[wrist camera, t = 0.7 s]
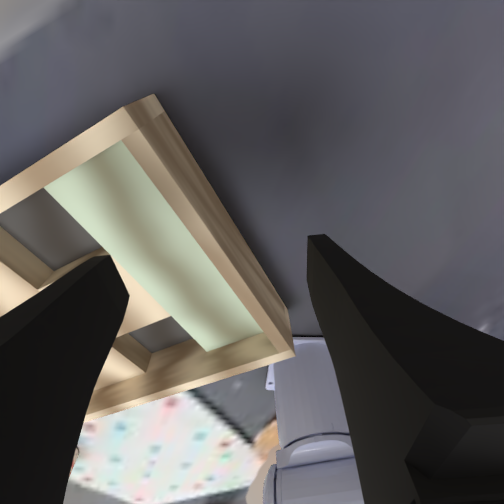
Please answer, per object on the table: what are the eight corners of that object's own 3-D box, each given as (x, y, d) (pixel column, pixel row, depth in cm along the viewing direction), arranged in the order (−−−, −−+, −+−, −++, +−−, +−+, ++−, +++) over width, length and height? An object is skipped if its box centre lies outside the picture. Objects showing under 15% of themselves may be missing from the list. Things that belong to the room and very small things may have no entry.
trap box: (154, 93, 16) (123, 106, 12) (287, 309, 26) (295, 356, 22) (-105, 258, 22) (-185, 304, 18) (88, 381, 32) (65, 428, 28)
